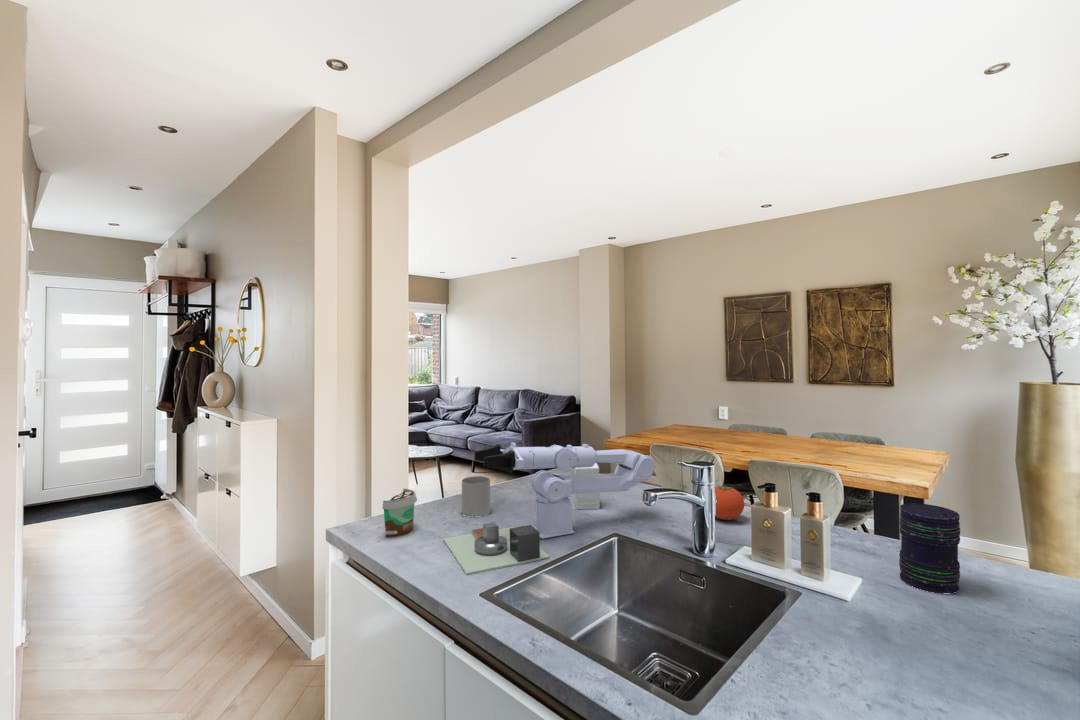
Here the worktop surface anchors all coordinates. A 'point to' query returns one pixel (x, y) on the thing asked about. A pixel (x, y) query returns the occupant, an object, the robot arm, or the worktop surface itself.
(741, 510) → the tomato
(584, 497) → the supplement box
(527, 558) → the dark grey cube
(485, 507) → the cup
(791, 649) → the worktop surface
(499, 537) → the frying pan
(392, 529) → the food container
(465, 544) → the tool mat
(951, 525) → the storage jar
